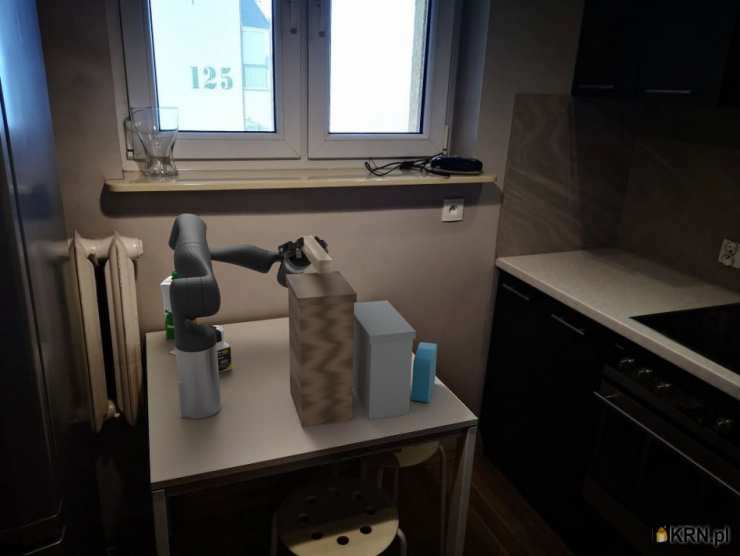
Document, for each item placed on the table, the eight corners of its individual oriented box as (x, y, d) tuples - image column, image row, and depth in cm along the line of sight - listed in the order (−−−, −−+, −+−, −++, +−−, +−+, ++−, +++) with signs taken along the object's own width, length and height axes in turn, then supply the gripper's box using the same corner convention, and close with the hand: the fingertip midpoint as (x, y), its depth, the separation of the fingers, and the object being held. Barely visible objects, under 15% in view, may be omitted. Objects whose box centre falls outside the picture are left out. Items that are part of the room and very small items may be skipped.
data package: (418, 380, 152) (420, 339, 149) (434, 382, 151) (437, 342, 148) (410, 402, 141) (413, 359, 138) (428, 405, 140) (431, 362, 137)
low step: (367, 420, 133) (370, 335, 126) (345, 379, 151) (346, 303, 144) (410, 414, 136) (415, 331, 129) (384, 375, 155) (387, 300, 148)
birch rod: (318, 273, 123) (318, 260, 122) (300, 247, 143) (300, 236, 142) (332, 272, 124) (332, 259, 123) (312, 246, 144) (311, 235, 143)
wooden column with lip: (299, 428, 129) (297, 298, 119) (288, 392, 144) (285, 274, 134) (354, 420, 133) (356, 293, 123) (337, 386, 148) (338, 271, 138)
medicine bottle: (207, 376, 151) (204, 335, 147) (197, 366, 156) (193, 326, 153) (232, 368, 156) (230, 329, 152) (220, 359, 161) (218, 320, 157)
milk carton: (200, 329, 180) (195, 270, 174) (190, 341, 172) (185, 279, 165) (173, 328, 180) (167, 269, 174) (162, 340, 172) (155, 278, 166)
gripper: (325, 268, 156) (339, 253, 139) (274, 272, 152) (282, 256, 135) (322, 242, 157) (335, 224, 141) (272, 245, 153) (279, 226, 137)
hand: (309, 240), depth 138 cm, fingers closed on birch rod, 3 cm apart
